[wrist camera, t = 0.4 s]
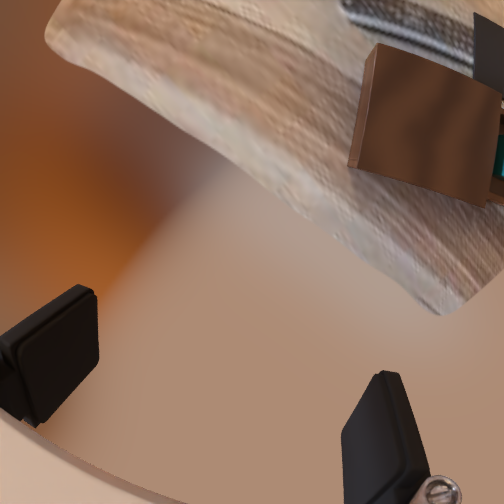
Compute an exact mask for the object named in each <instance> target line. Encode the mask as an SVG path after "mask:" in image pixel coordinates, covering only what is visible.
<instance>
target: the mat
mask: <svg viewBox="0 0 504 504" xmlns="http://www.w3.org/2000/svg"><path fill="white" fill-rule="evenodd" d="M473 14H474V68H473V79H474V80H476V81H478V82H480V83H482V84H484V85H486V86H488V87H490V88H492V89H494V90H495V91H497V92H499V93H501V94H502V99H503V100H504V28H502V27H501V26H499V25H497V24H496V23H494V22H492V21H490V20H489V19H487V18H485V17H483V16H481V15H479V14H477V13H475V12H474V13H473Z"/></svg>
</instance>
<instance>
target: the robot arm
mask: <svg viewBox="0 0 504 504" xmlns="http://www.w3.org/2000/svg"><path fill="white" fill-rule="evenodd" d="M97 315H98V313H97V296H96V295H94V291H93V290H92V289H90V288H87V287H85V286H82V285H80V284H77V285H75V286H74V287H72V288H71V289H69V290H67V291H66V292H64V293H63V294H61V295H60V296H58V297H57V298H56V299H54V300H52V301H51V302H49V303H48V304H46V305H45V306H43V307H42V308H40V309H39V310H37V311H36V312H34V313H33V314H31V315H30V316H28V317H27V318H26V319H24V320H23V321H21V322H20V323H18V324H17V325H16V326H14V327H13V328H11V329H10V330H8V331H7V332H5V333H4V334H3V335H1V336H0V504H186V503H183V502H180V501H177V500H174V499H171V498H168V497H166V496H163V495H160V494H157V493H155V492H152V491H149V490H146V489H144V488H142V487H139V486H137V485H134V484H132V483H130V482H127V481H125V480H123V479H120V478H118V477H116V476H114V475H112V474H110V473H108V472H105V471H103V470H101V469H99V468H97V467H95V466H93V465H91V464H89V463H87V462H86V461H84V460H82V459H80V458H78V457H76V456H74V455H73V454H71V453H69V452H67V451H66V450H64V449H62V448H60V447H58V446H57V445H55V444H54V443H52V442H50V441H49V440H47V439H45V438H44V437H42V436H41V435H39V434H38V433H36V432H35V431H33V430H32V429H30V428H28V427H27V426H26V425H24V424H23V423H21V422H20V421H21V420H22V419H24V421H25V422H27V423H28V424H30V425H31V426H33V427H34V428H36V427H37V426H38V425H39V424H40V423H45V422H46V421H47V420H48V419H49V418H50V417H51V415H52V414H53V413H54V412H55V411H56V410H57V409H58V408H59V406H60V405H61V404H62V403H63V402H64V401H65V400H66V399H67V397H68V396H69V395H70V394H71V393H72V392H73V391H74V390H75V389H76V387H77V386H78V385H79V384H80V383H81V382H82V381H83V380H84V379H85V378H86V376H87V375H88V374H89V373H90V372H91V371H92V370H93V369H94V368H95V367H96V365H97V364H98V361H99V342H98V318H97V317H98V316H97ZM341 446H342V462H343V463H342V464H343V486H344V504H461V502H462V493H461V490H460V488H459V486H458V485H457V484H456V483H455V482H454V481H453V480H452V479H450V478H448V477H446V476H441V475H435V476H431V474H430V468H429V465H428V461H427V458H426V454H425V451H424V447H423V444H422V441H421V437H420V434H419V431H418V428H417V424H416V421H415V418H414V415H413V412H412V409H411V406H410V403H409V400H408V397H407V394H406V391H405V388H404V385H403V383H402V380H401V377H400V375H399V373H396V372H390V371H384V370H383V371H381V372H380V373H379V374H375V375H374V376H373V377H372V379H371V381H370V383H369V385H368V386H367V388H366V390H365V392H364V394H363V395H362V397H361V399H360V401H359V402H358V404H357V406H356V408H355V409H354V411H353V413H352V414H351V416H350V418H349V419H348V421H347V423H346V425H345V426H344V428H343V430H342V433H341Z"/></svg>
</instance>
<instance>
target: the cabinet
mask: <svg viewBox="0 0 504 504" xmlns="http://www.w3.org/2000/svg"><path fill="white" fill-rule="evenodd" d="M501 103H502V94H501V93H499V92H497V91H495V90H494V89H492V88H490V87H488V86H486V85H484V84H482V83H480V82H478V81H476V80H474V79H472V78H470V77H468V76H465V75H463V74H461V73H459V72H457V71H454V70H452V69H450V68H447V67H445V66H443V65H440V64H438V63H435V62H433V61H430V60H428V59H425V58H422V57H420V56H417V55H414V54H411V53H409V52H406V51H403V50H400V49H397V48H394V47H390V46H387V45H384V44H381V43H377V44H376V45H375V47H374V48H373V50H372V51H371V53H370V55H369V56H368V58H367V59H366V61H365V68H364V75H363V82H362V88H361V94H360V101H359V106H358V112H357V118H356V123H355V129H354V134H353V140H352V145H351V150H350V155H349V160H348V165H347V166H348V167H352V168H356V169H360V170H364V171H367V172H371V173H375V174H379V175H382V176H386V177H389V178H393V179H396V180H400V181H403V182H406V183H410V184H413V185H416V186H419V187H423V188H426V189H429V190H432V191H435V192H438V193H441V194H444V195H447V196H450V197H453V198H456V199H459V200H462V201H465V202H467V203H470V204H473V205H476V206H479V207H482V208H485V205H486V201H487V197H488V192H489V187H490V183H491V178H492V172H493V167H494V161H495V155H496V149H497V142H498V134H499V125H500V115H501Z"/></svg>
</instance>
